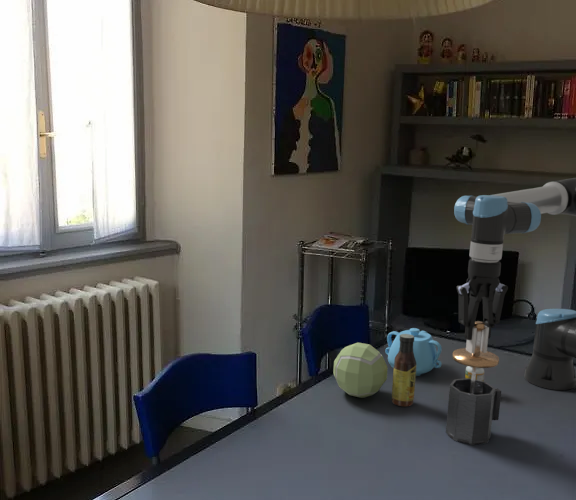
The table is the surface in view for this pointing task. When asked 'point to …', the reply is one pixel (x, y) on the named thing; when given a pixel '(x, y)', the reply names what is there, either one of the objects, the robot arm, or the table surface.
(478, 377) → the supplement bottle
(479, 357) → the plunger
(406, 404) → the sauce bottle
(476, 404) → the press body
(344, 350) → the decorative sphere
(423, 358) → the decorative pot
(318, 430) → the table surface
